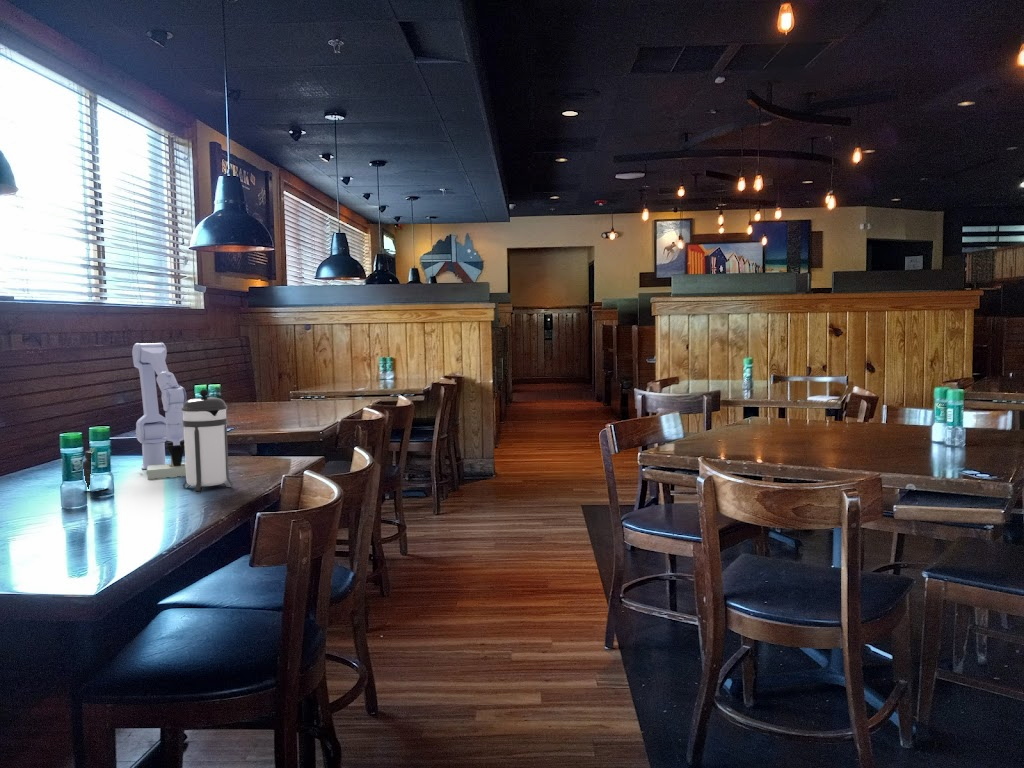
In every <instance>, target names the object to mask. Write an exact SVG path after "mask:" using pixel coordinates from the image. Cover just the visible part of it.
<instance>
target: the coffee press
mask: <svg viewBox="0 0 1024 768" xmlns="http://www.w3.org/2000/svg"><path fill="white" fill-rule="evenodd" d="M199 395H200V396H201V397H195V398H191V399H186V402H185V403H184V404H183V407H182V408H181V409H182V412H183V426H184V440H183V441H184V445H185V449H184V457H185V458H184V460H185V462H184V463H185V464H186V476H185V481H184V483H183V485H182V488H183V489H185V488H186V487H187V488H186V489H189V488H190V487H191V486H192V487H194V489H195V493H196V492H200V493H202V492H201V491H203V489H204V488H205V487H212V486H219V485H223V486H225V487H226V488H227V487H231V488H232V487H233V486H234V483H233V482H232V480H231V479H230V474H229V473H230V471H229V470H230V469H229V454H228V453H229V448H228V447H229V446H228V445H229V444H228V427H227V425H228V417H227V410H228V405H227V404H226V402H225V400H223V399H222V398H219V397H208V395H209V391H208V390H207V389H201V390H200V391H199ZM227 482H228V483H229V484H230V485H229V484H227ZM186 484H187V485H188V486H186Z"/></svg>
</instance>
